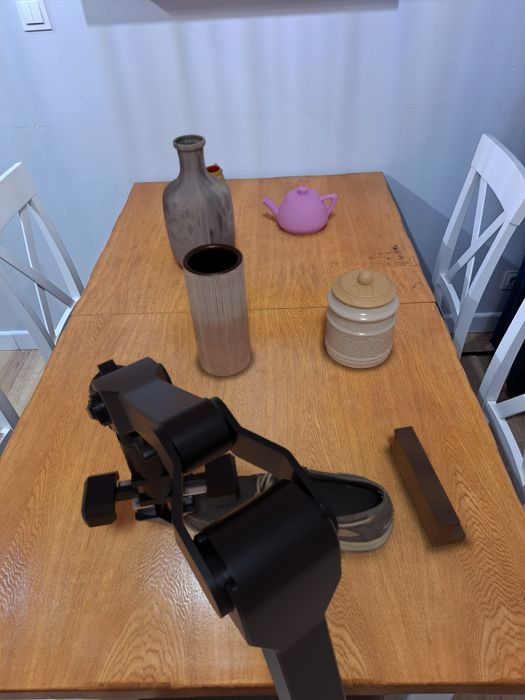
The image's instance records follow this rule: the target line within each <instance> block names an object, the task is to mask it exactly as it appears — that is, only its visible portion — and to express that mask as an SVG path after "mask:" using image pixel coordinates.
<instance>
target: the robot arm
mask: <svg viewBox="0 0 525 700" xmlns="http://www.w3.org/2000/svg"><path fill="white" fill-rule="evenodd" d="M96 366H97V370H98V372H97V373H96V374H95V375H94V377H93V378H92V379H91V381H90V383H89V386H88V393H89V394H88V396H87V397H88V400H87V406H86V407H85V410H86V413H87V415H88V417H89V419H91V420H94V421H97V422H98V423H99V424H100V426H102V427H103V428H106V427H108V428H109V429H110V430H112V431H113V432H114V433H115V435H116V439H117V442H118V444H119V446H120V449H121V452H122V454H123V457H124V459H125V461H126V464H127V467H128V471H129V473H130V479H125V480H120V478H121V477H120V476H121V475H120V473H119V470H114V471H109V472H102V473H96V474H91V475H88V476H87V478H86V479H85V480H84V483H83V491H82V498H81V508H80V513H81V514H80V515H81V518H82V520H83V522H84V524H85V525H86V526H87V527H88V528H90V529H91V528H96V527H102V526H108V525H113V524H114V523H115V522H116V521H117V520H118V514H117V511H116V509H117V508H116V506H117V503H119V502H124V501H130V500H131V508H132V510H133V511H134V518H135V520H136V521H137V522H139V523H140V522H149V523H155V524H160V525H164V526H168V527H172V530H173V535H174V540H175V543H176V544H177V546H178V548H179V550H180V552H181V554H182V556H183V557H184V559H185V561H186V563H187V565H188V567H189V568H190V570H191V572H192V574H193V576H194V577H195V579H196V581H197V583H198V584H199V586H200V588H201V590H202V592H203V594H204V596H205V597H206V599H207V601H208V603H209V604H210V606H211V608H212V609H213V611H214V612H215V614H216V615H217V616H218V617H219V619H224V618H225V617H226V616H227V615H228V617H229V618H230V620H231V621H232V623H233V624H234V625H235V627H236V628H237V630H238V632H239V634H240V635H241V636H242V638H243V639H244V641H245V642H246V644H247V646H248V647H254V648H258V649H261V651H262V652H261V653H262V655H263V657H264V660H265V663H266V665H267V668H268V671H269V675H270V677H271V679H272V682H273V685H274V688H275V691H276V694H277V696H278V700H347V697H346V692H345V688H344V685H343V681H342V677H341V672H340V668H339V664H338V661H337V657H336V652H335V647H334V644H333V640H332V637H331V633H330V629H329V624H328V621H327V620H328V619H327V616H326V612H327V610H328V608H329V606H330V603H331V601H332V599H333V597H334V594H335V592H336V591H337V589H338V586H339V584H340V582H341V579H342V573H343V569H342V551H341V548H340V540H339V537H338V533H339V525H338V521H337V518H336V516H335V514H334V512H333V510H332V508H331V507H330V505H329V504H328V502H327V500H326V499H325V498H324V496H323V495H322V494H321V492H320V491H319V490H318V488H317V487H316V486H315V484H314V483H313V481H312V480H311V479H310V477H309V476H308V475H307V473H306V472H305V471H304V469H303V468H302V467H301V466H302V465H301V464H300V462H299V461H298V459H296V457H295V456H294V455H293V453H292V451H290V449H288V448H287V447H284V446H282V445H280V444H279V443H276V442H274V441H272V440H271V439H268V438H266V437H264V436H262V435H261V434H258V433H256V432H254V431H252V430H249V429H247V428H245V427H243V426H242V425H241V424H240V422H239V421H238V420H237V418H236V417H235V415H234V413H232V411H231V410H230V408H229V407H228V406H227V404H226V403H225V402H224V401H223V399H222V398H220V397H219V396H212V397H210V398H208V397H205V396H204V397H201V396H199V395H196V394H194V393H193V392H190V391H187V390H185V389H183V388H181V387H179V386H176V385H174V383H173V381H172V378H171V377H170V374H169V372H168V371H167V369H166V368H165V366H164V365H163V364H162V363H161V362H158V361H156V360H154V359H153V358H152V357H150V356H145V357H142V358H140V359H137V360H136V361H134V362H131V363H129V364H126V365H124V364H117V363H116V362H115V361H114V359H113V358H111V359H108V360H106V361H103V362H101V363H99V364H97V365H96ZM236 458H238V459H241V460H243V461H244V462H247V463H248V464H250V465H252V466H254V467H257V468H258V469H261V470H263V471H264V472H265V473H267V472H268V473H270V474H272V475H274V476H276V477H277V478H278V479H279V480H280V481H278V482H276V483H275V484H273V485H272V486H270V487H268V488H267V489H265V490H264V491H262V492H260V493H259V494H257V495H256V496H254V497H253V498H251V499H249V500H248V501H246V502H245V503H243V504H241V505H240V506H238V507H237V508H235V509H233V510H232V511H230V512H229V513H227V514H225V515H224V516H222V517H221V518H219V519H218V520H216V521H214V522H213V523H211V524H210V525H208V526H206V527H205V528H203V529H202V530H200V531H199V533H198V534H196V533H195V534H194V536H193V537H192V536H191V534H190V533H189V531H188V529H187V526H186V525H185V524H184V522H183V517H184V516H185V515H186V514H187V513H191V512H193V511H194V510H195V496H194V494H200V493H205V492H207V496H208V501H209V504H212V505H215V506H218V505H224V504H229V503H235V502H237V501H238V500H239V499H240V498H241V495H240V488H239V481H238V476H239V475H238V470H237V469H238V468H237V461H236ZM201 467H204V468H203V469H204V471H203V472H197V473H193V472H195V471H196V470H198V469H200V468H201ZM169 503H170V505H169Z"/></svg>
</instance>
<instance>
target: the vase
mask: <svg viewBox="0 0 525 700" xmlns="http://www.w3.org/2000/svg"><path fill="white" fill-rule="evenodd" d="M206 144H207V143H206V137H204V136H203V135H200V134H183V135H179V136H176V138H174V139H173V140H172V146H173V148H174V149H175V150H176V152H177V157H178V163H179V173H178V175H177V177H176V178H174V179H173V180H171V181H170V182H169V183H168V184H167V185H166V186H165V187H164V188H163V191H162V198H161V199H162V202H161V204H162V211H163V212H162V213H163V218H164V219H163V220H164V224H165V229H166V233H167V234H166V235H167V239H168V242H169V245H170V249H171V252H172V254H173V257H174V258H175V261H176V262H177V263H178V264H179V265H181V266H182V267H183V264H182V262H183V258H184V256H185V255H186V254H187V253H188V252H189V251H191V250H192V249H194V248H196V247H199V246H202V245H206V244H214V243H220V244H227V245H231V246H233V247H235V248H236V246H235V245H236V226H235V225H236V223H235V222H236V221H235V213H234V202H233V197H232V191H231V190H230V187H229V185H228V183H226V180H225V181H223V180H222V179H221V178H219V177H216V176H214V175H211V174H210V173H209V172H208V171H207V169H206V167H207V166H206V162H205V152H204V148H205V146H206Z"/></svg>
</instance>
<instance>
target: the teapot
mask: <svg viewBox="0 0 525 700" xmlns="http://www.w3.org/2000/svg"><path fill="white" fill-rule="evenodd" d="M338 198H339V197H338V194H337V193H327V194H324V195H322V196H321V195H320V193H319V192H318V191H317V190H316V189H314V188H309V187H308V186H306V185H301V186H298V187H297V188H293V189H291V190H289V191H288V192H287V193H286V195H285V196H284V198H283V199H282V201H281V202H280V205H279V207H278V205H277V204H276V203H275V202H274V201H273V200H272V198H271V197H270V196H266V197H264V198H263V200H262V204H263V205H264V206H265V207H266V208H267V209H268V211H270V213H272V214H273V215H274V217H275V218H276V221H277V223H278V226H280V228H281V229H283V231H284V232H286V233H289V234H291V235H295V236H296V235H297V236H307V235H314V234H316V233H318V232H320V231H322V229H323V228H324V227H325V226H326V225H327V223H328V221H329V216H330V214H331V212H332V211H333V209H334V208H335V206H336V205H337V204H338V203H337V202H338ZM326 200H330V203H329V206H328V208H327V205H326V203H325V201H326Z"/></svg>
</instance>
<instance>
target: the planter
mask: <svg viewBox="0 0 525 700" xmlns="http://www.w3.org/2000/svg"><path fill="white" fill-rule="evenodd" d="M182 264H183V266H182V269H183V275H184V280H185V287H186V292H187V299H188V304H189V308H190V316H191V321H192V327H193V332H194V338H195V344H196V350H197V354H198V361H199V364H200V367H201V368H202V370H203V371H205V372H206V373H208V374H210V375H212V376H216V377H230V376H233V375H236V374H239V373H241V372H243V371H244V370H245V369H246V368H247V367H248V366H249V365H250V362H251V358H252V357H251V356H252V355H251V341H250V340H251V339H250V328H249V316H248V302H247V290H246V279H245V277H246V276H245V263H244V255H243V253H242V252H241V250H240V249H239V248H237V247H236V246H235V247H233V246H231V245H227V244H220V243H214V244H206V245H202V246H199V247H196V248H194V249H192V250H191V251H189V252H188V253H187V254H186V255H185V256H184V258H183V262H182Z"/></svg>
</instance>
